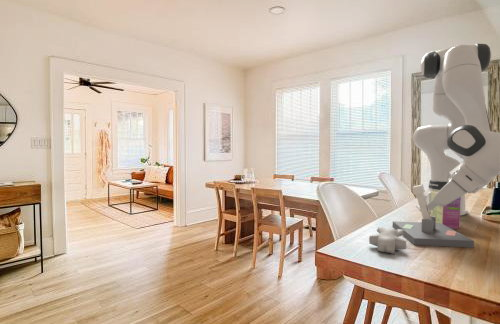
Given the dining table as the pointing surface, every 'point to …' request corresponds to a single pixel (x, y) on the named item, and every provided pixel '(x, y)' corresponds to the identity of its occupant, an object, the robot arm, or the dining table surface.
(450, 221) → the box
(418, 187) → the breaker lever
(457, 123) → the robot arm
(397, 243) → the bunny figurine
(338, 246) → the dining table surface
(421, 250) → the dining table surface
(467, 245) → the breaker panel
